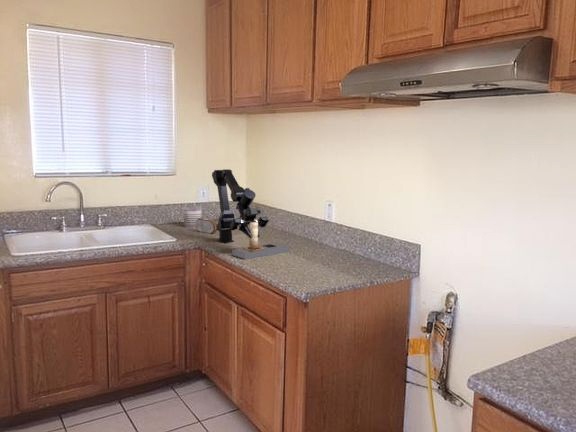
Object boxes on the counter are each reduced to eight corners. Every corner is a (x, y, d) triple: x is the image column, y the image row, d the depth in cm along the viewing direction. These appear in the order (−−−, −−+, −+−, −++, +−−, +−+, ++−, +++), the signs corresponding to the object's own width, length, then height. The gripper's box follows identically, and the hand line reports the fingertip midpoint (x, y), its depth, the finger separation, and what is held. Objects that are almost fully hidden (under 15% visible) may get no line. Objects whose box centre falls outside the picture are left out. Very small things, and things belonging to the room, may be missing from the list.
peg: (247, 250, 236) (248, 222, 233) (254, 249, 238) (255, 221, 236) (252, 252, 232) (252, 223, 230) (259, 251, 235) (259, 222, 232)
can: (203, 224, 312) (202, 206, 310) (200, 228, 301) (200, 209, 299) (185, 224, 311) (184, 206, 309) (182, 228, 300) (181, 208, 298)
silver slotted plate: (244, 259, 226) (245, 252, 225) (232, 255, 233) (232, 248, 233) (289, 251, 244) (289, 244, 244) (276, 247, 252) (276, 241, 251)
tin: (217, 233, 284) (217, 219, 283) (214, 234, 282) (214, 220, 280) (198, 230, 292) (198, 217, 291) (194, 231, 290) (194, 217, 288)
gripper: (232, 202, 230) (242, 229, 222) (267, 200, 239) (278, 226, 232) (225, 216, 238) (235, 242, 230) (259, 213, 247) (269, 239, 240)
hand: (255, 237), depth 233 cm, fingers closed on peg, 4 cm apart
